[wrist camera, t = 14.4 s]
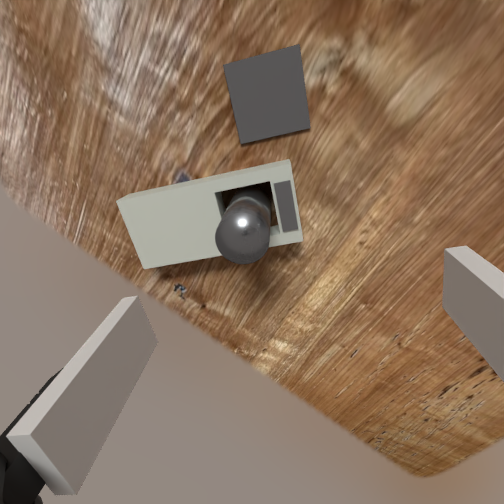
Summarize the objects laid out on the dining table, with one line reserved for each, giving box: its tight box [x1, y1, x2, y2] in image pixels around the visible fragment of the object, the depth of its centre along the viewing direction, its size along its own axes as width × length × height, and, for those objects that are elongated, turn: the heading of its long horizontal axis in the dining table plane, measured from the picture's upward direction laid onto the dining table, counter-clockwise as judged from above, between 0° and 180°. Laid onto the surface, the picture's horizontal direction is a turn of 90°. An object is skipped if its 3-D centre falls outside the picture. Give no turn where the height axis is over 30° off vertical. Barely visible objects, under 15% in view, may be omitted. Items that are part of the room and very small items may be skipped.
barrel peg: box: [215, 185, 271, 264], centre depth 29 cm, size 4×4×10 cm
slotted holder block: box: [116, 159, 303, 269], centre depth 32 cm, size 8×18×3 cm, turn 102°
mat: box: [223, 44, 310, 144], centre depth 29 cm, size 7×7×1 cm
